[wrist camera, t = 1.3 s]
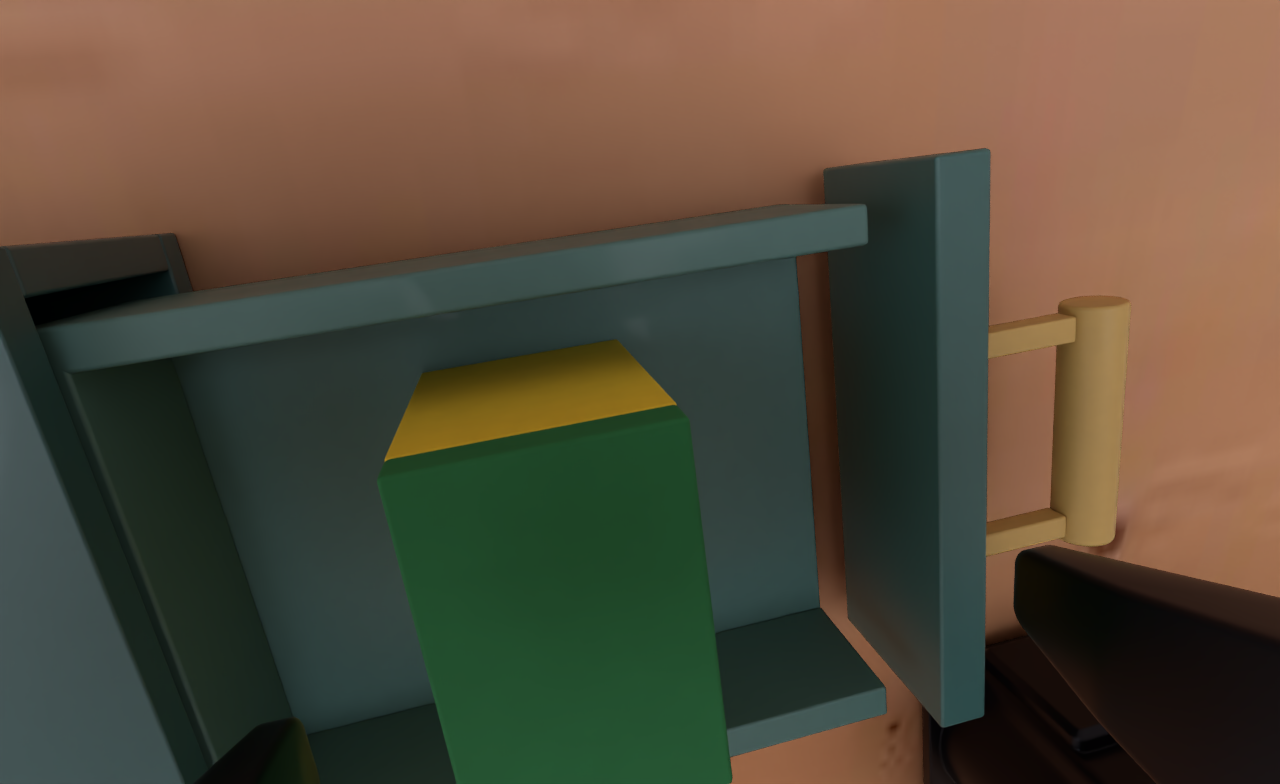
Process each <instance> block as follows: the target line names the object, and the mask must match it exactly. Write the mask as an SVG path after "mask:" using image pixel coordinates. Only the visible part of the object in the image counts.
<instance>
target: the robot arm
mask: <svg viewBox="0 0 1280 784" xmlns="http://www.w3.org/2000/svg"><path fill="white" fill-rule="evenodd" d="M1014 611H1015V614H1016V617H1017V619H1018V621H1019V623H1020V624H1021V626H1022V627H1023V629H1024V630H1025V631H1026V632H1027V634H1028V635H1026V636H1023V637H1019V638H1015V639H1012V640H1008V641H1004V642H1000V643H997V644H993V645H989V646H986V647H985V699H984V716H982V717H980V718H976V719H973V720H969V721H966V722H962V723H959V724H955V725H952V726H948V727H945V728H944V727H941V726H940V725H939V724H938V723H937V721H936V720H935V719H934V718H933V717H932V716H931V714H930V713H929V712H928V711H927V710H926V709H925V707H924V706H923V705H922V719H923V768H924V784H1280V598H1279V597H1275V596H1270V595H1266V594H1262V593H1257V592H1253V591H1248V590H1244V589H1240V588H1235V587H1231V586H1227V585H1222V584H1218V583H1214V582H1209V581H1205V580H1201V579H1196V578H1192V577H1188V576H1183V575H1179V574H1175V573H1170V572H1166V571H1162V570H1157V569H1153V568H1149V567H1144V566H1140V565H1136V564H1131V563H1127V562H1123V561H1118V560H1114V559H1110V558H1105V557H1101V556H1097V555H1092V554H1088V553H1083V552H1079V551H1075V550H1070V549H1066V548H1062V547H1057V546H1053V545H1045V546H1040V547H1036V548H1032V549H1027V550H1023V551H1022V552H1020V553H1019V554H1018V556H1017V558H1016V561H1015V578H1014ZM193 784H320V779H319V774H318V770H317V767H316V764H315V760H314V757H313V754H312V751H311V747H310V744H309V741H308V738H307V734H306V731H305V728H304V726H303V724H302V722H301V721H300V719H298V718H296V717H288V718H284V719H279V720H275V721H270V722H266V723H262V724H259V725H258V726H256V727H255V728H253V729H252V730H251V731H250V732H249V733H248V734H247V735H246V736H245V737H243V738H242V739H241V740H240V741H239V742H238V743H237V744H236V745H235V746H233V747H232V748H231V749H230V750H229V751H228V752H227V753H226V754H225V755H224V756H222V757H221V758H220V759H219V760H218V761H217V762H216V763H215V764H214V765H213V766H211V767H210V768H209V769H208V770H207V771H206V772H205V773H204V774H203V775H202V776H200V777H199V778H198V779H197V780H196V781H195V782H194V783H193Z"/></svg>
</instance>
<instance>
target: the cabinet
mask: <svg viewBox="0 0 1280 784" xmlns="http://www.w3.org/2000/svg"><path fill="white" fill-rule="evenodd" d="M187 292H193V290H192V287H191V284H190V280H189V277H188V274H187V271H186V268H185V265H184V262H183V259H182V255H181V252H180V249H179V246H178V243H177V240H176V237H175V235H174V234H173V233H165V234H152V235H140V236H127V237H114V238H101V239H89V240H76V241H63V242H50V243H37V244H25V245H12V246H1V247H0V784H193V783H194V782H195V781H196V780H197V779H198V778H199V777H200V776H202V775H203V774H204V773H205V772H206V771H207V770H208V768H207V765H206V762H205V760H204V757H203V755H202V752H201V750H200V747H199V744H198V742H197V739H196V737H195V734H194V732H193V729H192V727H191V724H190V721H189V719H188V716H187V714H186V711H185V709H184V706H183V704H182V701H181V698H180V696H179V693H178V691H177V688H176V686H175V683H174V680H173V678H172V675H171V673H170V670H169V668H168V665H167V663H166V660H165V657H164V655H163V652H162V650H161V647H160V645H159V642H158V640H157V637H156V634H155V632H154V629H153V627H152V624H151V622H150V619H149V617H148V614H147V611H146V609H145V606H144V604H143V601H142V599H141V596H140V593H139V591H138V588H137V586H136V583H135V581H134V578H133V576H132V573H131V570H130V568H129V565H128V563H127V560H126V558H125V555H124V553H123V550H122V547H121V545H120V542H119V540H118V537H117V535H116V532H115V529H114V527H113V524H112V522H111V519H110V517H109V514H108V512H107V509H106V506H105V504H104V501H103V499H102V496H101V494H100V491H99V489H98V486H97V483H96V481H95V478H94V476H93V473H92V471H91V468H90V466H89V463H88V460H87V458H86V455H85V453H84V450H83V448H82V445H81V442H80V440H79V437H78V435H77V432H76V430H75V427H74V425H73V422H72V419H71V417H70V414H69V412H68V409H67V407H66V404H65V402H64V399H63V396H62V394H61V391H60V389H59V386H58V384H57V381H56V379H55V376H54V373H53V371H52V368H51V366H50V363H49V361H48V358H47V355H46V353H45V350H44V348H43V345H42V343H41V340H40V338H39V335H38V332H37V330H36V327H35V326H36V325H40V324H44V323H48V322H51V321H55V320H59V319H63V318H67V317H71V316H75V315H79V314H83V313H87V312H90V311H94V310H98V309H102V308H106V307H110V306H114V305H117V304H121V303H125V302H129V301H133V300H140V299H147V298H153V297H160V296H167V295H174V294H180V293H187Z"/></svg>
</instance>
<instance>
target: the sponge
mask: <svg viewBox="0 0 1280 784" xmlns="http://www.w3.org/2000/svg"><path fill="white" fill-rule="evenodd" d="M384 461H385V462H384V464H383V466H382V469H381V471H380V473H379V475H378V478H377V485H378V489H379V492H380V496H381V500H382V504H383V507H384V511H385V515H386V519H387V523H388V526H389V530H390V534H391V538H392V542H393V545H394V549H395V553H396V557H397V560H398V564H399V568H400V572H401V576H402V579H403V583H404V587H405V591H406V595H407V598H408V602H409V606H410V610H411V613H412V617H413V621H414V625H415V629H416V632H417V636H418V640H419V644H420V648H421V651H422V655H423V659H424V663H425V666H426V670H427V674H428V678H429V682H430V685H431V689H432V693H433V697H434V701H435V704H436V708H437V712H438V716H439V719H440V723H441V727H442V731H443V735H444V738H445V742H446V746H447V750H448V754H449V757H450V761H451V765H452V769H453V772H454V776H455V780H456V784H729V783H731V782H732V770H731V762H730V753H729V745H728V737H727V728H726V720H725V712H724V703H723V695H722V687H721V678H720V670H719V661H718V653H717V645H716V636H715V628H714V620H713V611H712V603H711V595H710V586H709V578H708V570H707V561H706V553H705V545H704V536H703V528H702V520H701V511H700V503H699V494H698V486H697V478H696V469H695V461H694V453H693V444H692V436H691V428H690V420H689V418H688V417H687V416H686V415H685V414H684V412H683V411H682V410H681V409H680V408H679V407H678V406H677V404H676V403H675V401H674V400H673V399H672V398H671V397H670V396H669V395H668V394H667V393H666V392H665V391H664V390H663V389H662V387H661V386H660V385H659V384H658V383H657V382H656V381H655V380H654V379H653V378H652V377H651V376H650V375H649V373H648V372H647V371H646V370H645V369H644V368H643V367H642V366H641V365H640V364H639V363H638V362H637V361H636V359H635V358H634V357H633V356H632V355H631V354H630V353H629V352H628V351H627V350H626V349H625V348H624V347H623V345H622V344H621V343H620V342H619V341H618V340H616V339H614V340H609V341H603V342H597V343H592V344H586V345H580V346H574V347H569V348H563V349H557V350H551V351H546V352H540V353H534V354H529V355H523V356H517V357H511V358H506V359H500V360H494V361H488V362H483V363H477V364H471V365H465V366H460V367H454V368H448V369H443V370H437V371H431V372H425V373H422V375H421V377H420V379H419V381H418V384H417V386H416V388H415V391H414V393H413V395H412V397H411V400H410V402H409V404H408V407H407V409H406V411H405V413H404V416H403V418H402V420H401V423H400V425H399V427H398V429H397V432H396V434H395V436H394V439H393V441H392V443H391V445H390V448H389V450H388V452H387V455H386V457H385V460H384Z"/></svg>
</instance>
